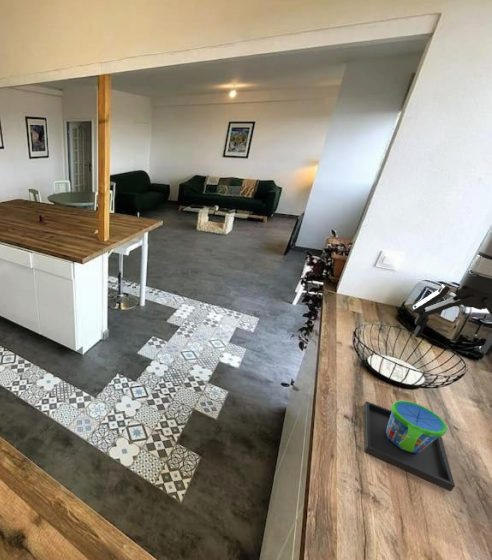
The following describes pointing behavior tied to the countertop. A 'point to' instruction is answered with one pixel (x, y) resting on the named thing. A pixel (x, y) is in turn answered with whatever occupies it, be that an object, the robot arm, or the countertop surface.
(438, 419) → the snack cup
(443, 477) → the dark grey tray
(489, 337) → the robot arm
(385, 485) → the countertop surface
